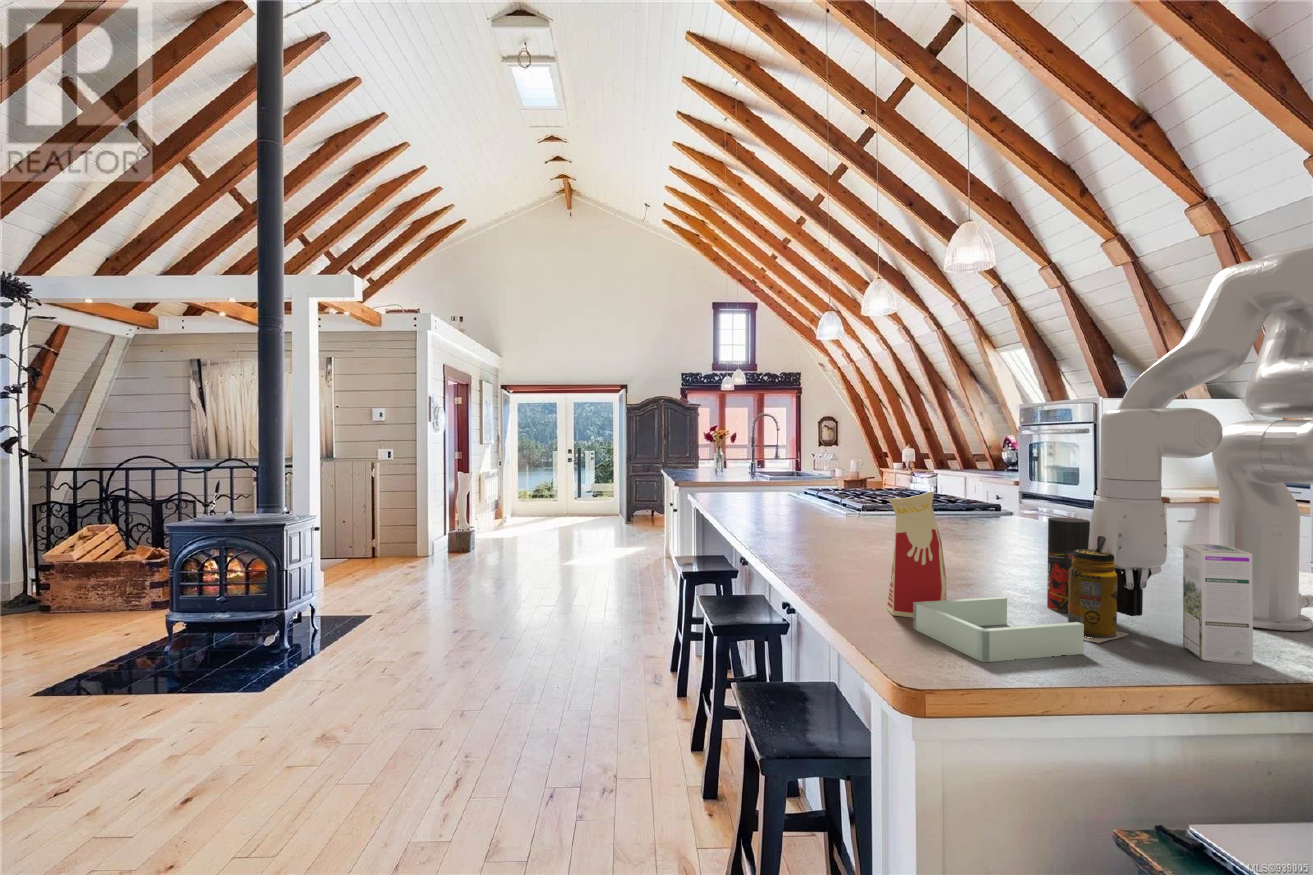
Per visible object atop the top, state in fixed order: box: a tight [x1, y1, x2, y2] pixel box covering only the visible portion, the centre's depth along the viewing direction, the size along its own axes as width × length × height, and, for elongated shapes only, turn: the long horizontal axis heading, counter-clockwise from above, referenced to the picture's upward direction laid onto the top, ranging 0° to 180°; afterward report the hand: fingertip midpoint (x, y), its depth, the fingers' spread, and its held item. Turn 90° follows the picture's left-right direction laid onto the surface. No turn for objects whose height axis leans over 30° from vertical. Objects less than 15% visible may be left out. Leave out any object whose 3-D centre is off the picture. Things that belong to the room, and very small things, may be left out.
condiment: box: [1067, 549, 1130, 644], centre depth 99 cm, size 7×8×12 cm
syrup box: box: [1182, 543, 1254, 666], centre depth 89 cm, size 6×6×14 cm
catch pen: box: [912, 596, 1085, 663], centre depth 95 cm, size 16×15×4 cm
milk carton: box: [886, 490, 948, 619], centre depth 110 cm, size 9×9×20 cm
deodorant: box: [1046, 517, 1091, 614], centre depth 112 cm, size 6×6×15 cm
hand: (1128, 613), depth 100 cm, fingers closed
